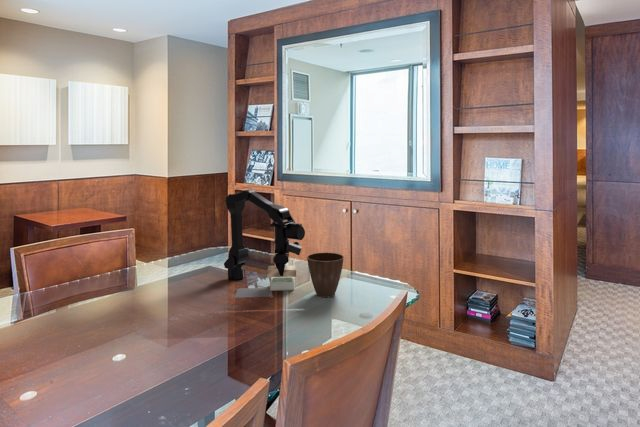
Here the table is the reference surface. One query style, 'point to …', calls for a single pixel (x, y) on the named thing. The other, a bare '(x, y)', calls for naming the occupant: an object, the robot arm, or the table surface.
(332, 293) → the plant pot
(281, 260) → the robot arm
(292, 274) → the lid
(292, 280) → the dish
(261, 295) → the mat
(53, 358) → the table surface
